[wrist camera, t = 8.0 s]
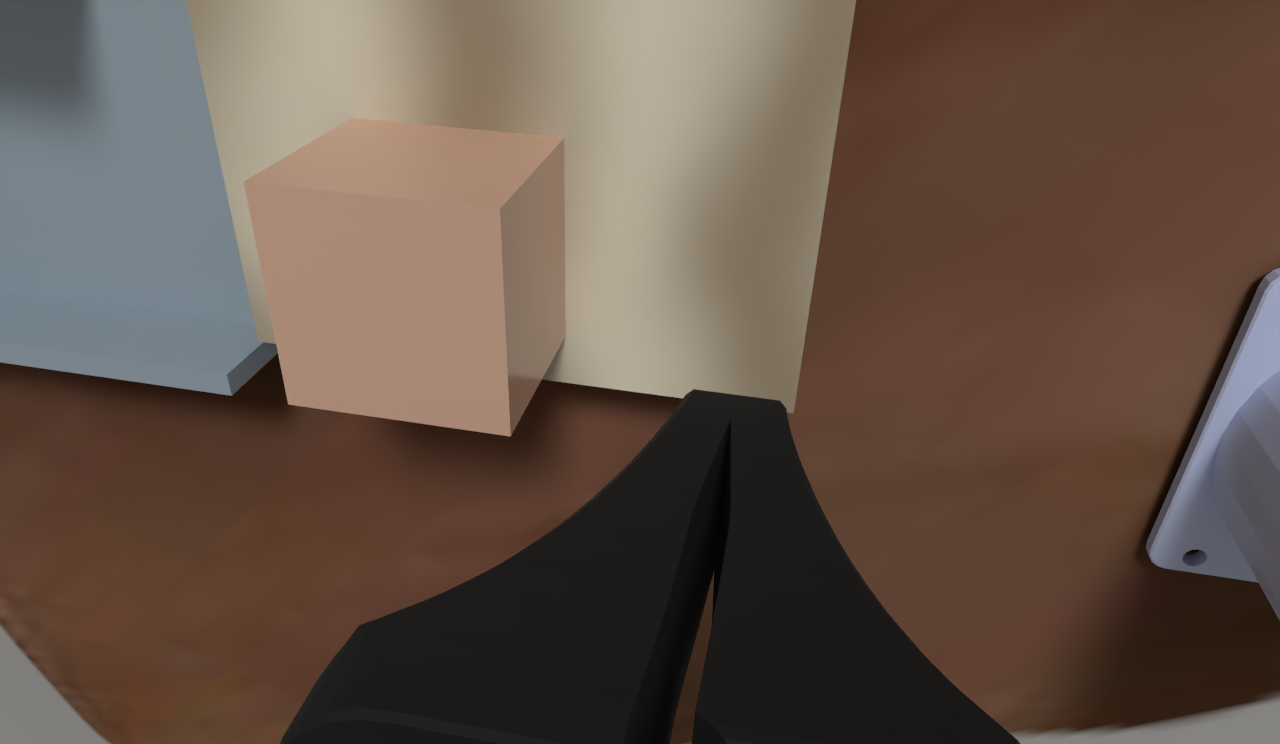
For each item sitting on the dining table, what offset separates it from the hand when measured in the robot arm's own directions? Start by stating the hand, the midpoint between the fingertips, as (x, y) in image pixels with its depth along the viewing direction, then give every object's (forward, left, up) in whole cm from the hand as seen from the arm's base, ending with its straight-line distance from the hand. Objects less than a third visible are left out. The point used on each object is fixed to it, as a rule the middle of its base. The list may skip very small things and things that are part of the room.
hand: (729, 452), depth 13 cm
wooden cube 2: (+6, 0, -7) cm, 9 cm away
